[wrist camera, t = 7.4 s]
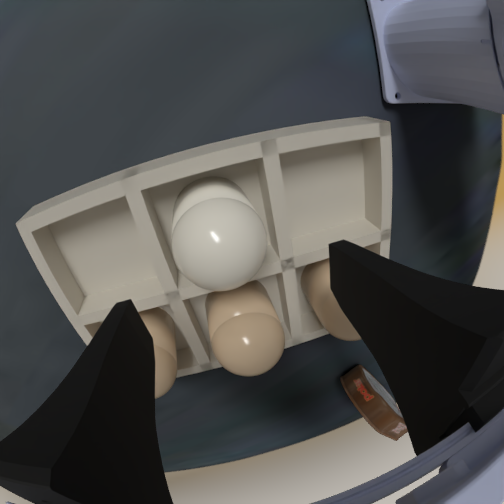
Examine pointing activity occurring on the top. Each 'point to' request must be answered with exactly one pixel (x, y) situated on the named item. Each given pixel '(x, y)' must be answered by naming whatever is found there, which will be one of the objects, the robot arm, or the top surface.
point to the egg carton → (262, 199)
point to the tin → (374, 402)
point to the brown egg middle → (244, 329)
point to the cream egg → (217, 235)
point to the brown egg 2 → (326, 301)
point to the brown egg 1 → (162, 347)
